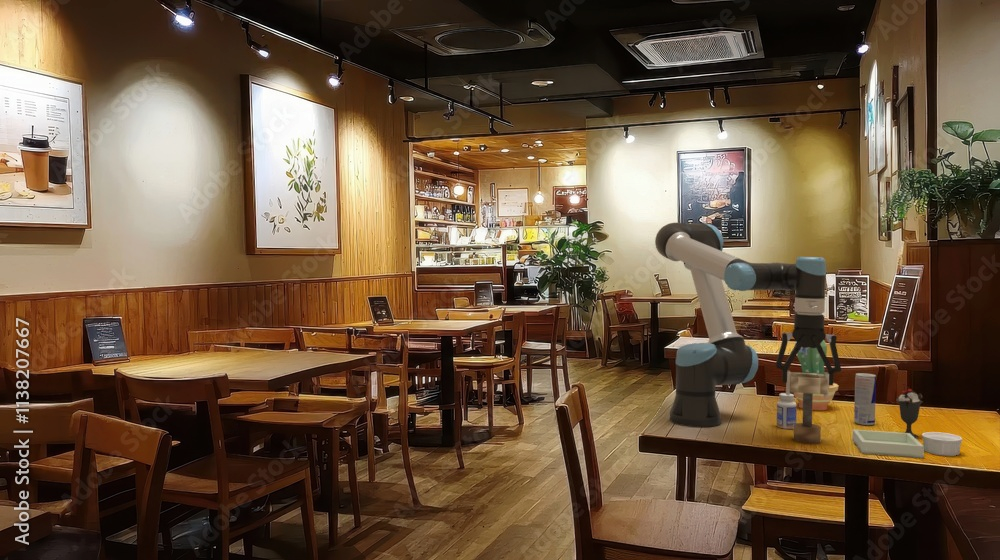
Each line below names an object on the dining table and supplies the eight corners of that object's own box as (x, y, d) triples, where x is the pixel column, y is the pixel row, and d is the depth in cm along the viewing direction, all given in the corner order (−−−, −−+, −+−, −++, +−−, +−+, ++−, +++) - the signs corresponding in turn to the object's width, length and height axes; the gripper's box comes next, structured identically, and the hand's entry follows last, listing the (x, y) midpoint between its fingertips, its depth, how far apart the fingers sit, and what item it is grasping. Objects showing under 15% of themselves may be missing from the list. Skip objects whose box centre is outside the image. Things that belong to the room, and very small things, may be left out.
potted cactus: (781, 402, 252) (782, 330, 251) (827, 403, 251) (828, 330, 250) (797, 412, 236) (799, 335, 235) (846, 412, 236) (848, 335, 235)
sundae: (891, 436, 205) (893, 383, 205) (899, 432, 210) (901, 380, 209) (918, 440, 200) (919, 386, 200) (925, 436, 205) (926, 383, 205)
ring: (790, 392, 196) (791, 377, 196) (787, 386, 205) (788, 372, 205) (827, 394, 194) (827, 379, 194) (822, 388, 202) (823, 374, 202)
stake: (794, 442, 197) (795, 391, 197) (792, 436, 204) (793, 386, 203) (822, 444, 195) (823, 392, 195) (818, 438, 202) (819, 388, 201)
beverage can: (877, 426, 217) (878, 376, 216) (857, 425, 218) (858, 375, 217) (871, 422, 222) (872, 373, 222) (852, 421, 223) (853, 372, 223)
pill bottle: (797, 426, 216) (798, 393, 216) (794, 430, 211) (795, 396, 211) (778, 424, 219) (778, 392, 219) (775, 427, 214) (775, 394, 214)
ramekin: (952, 459, 182) (952, 442, 182) (915, 451, 190) (915, 434, 189) (967, 453, 188) (968, 436, 187) (931, 446, 195) (931, 430, 195)
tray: (862, 453, 187) (862, 441, 187) (852, 440, 200) (852, 429, 200) (923, 458, 183) (923, 446, 183) (909, 444, 196) (909, 433, 196)
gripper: (767, 313, 198) (765, 395, 199) (855, 316, 192) (852, 401, 193) (766, 311, 205) (763, 390, 206) (850, 313, 199) (848, 395, 200)
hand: (806, 395), depth 200 cm, fingers closed on ring, 9 cm apart
